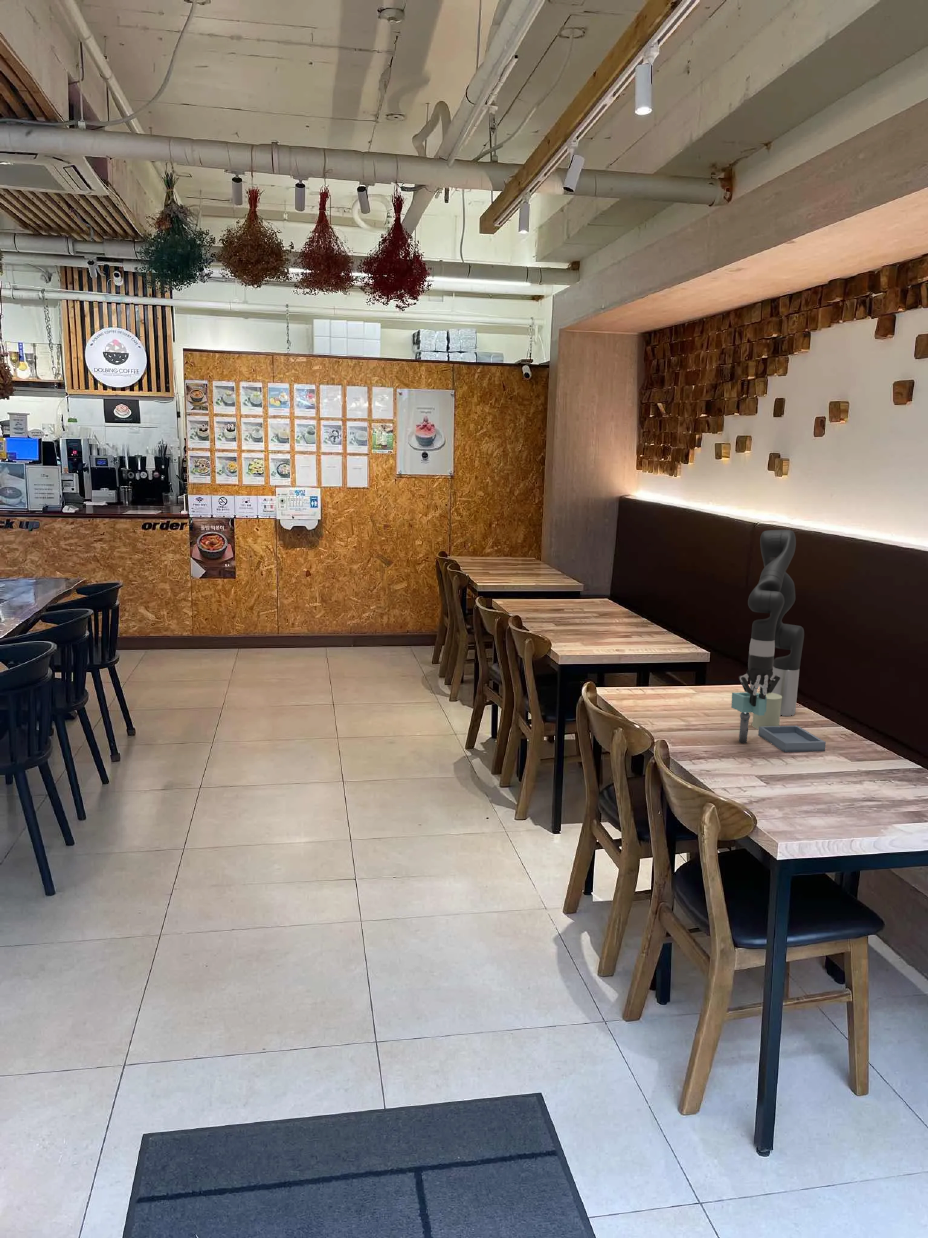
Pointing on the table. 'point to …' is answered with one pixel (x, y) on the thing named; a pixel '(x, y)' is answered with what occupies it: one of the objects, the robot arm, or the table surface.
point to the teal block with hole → (748, 703)
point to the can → (769, 712)
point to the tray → (791, 738)
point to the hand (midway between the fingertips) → (756, 705)
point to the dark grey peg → (744, 727)
